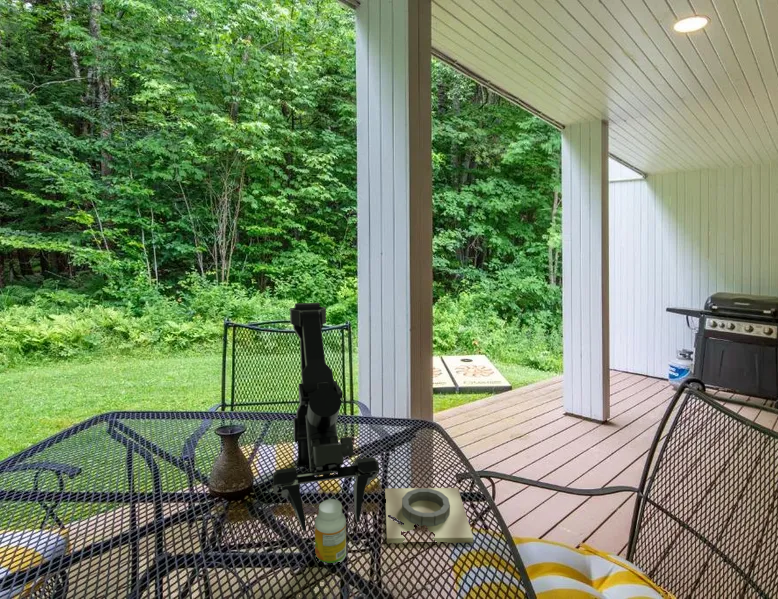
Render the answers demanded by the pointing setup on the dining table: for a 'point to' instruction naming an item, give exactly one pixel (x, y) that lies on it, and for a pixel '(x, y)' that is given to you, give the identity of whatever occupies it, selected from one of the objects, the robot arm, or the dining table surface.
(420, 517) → the ring holder
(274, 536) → the dining table surface
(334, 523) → the supplement bottle
